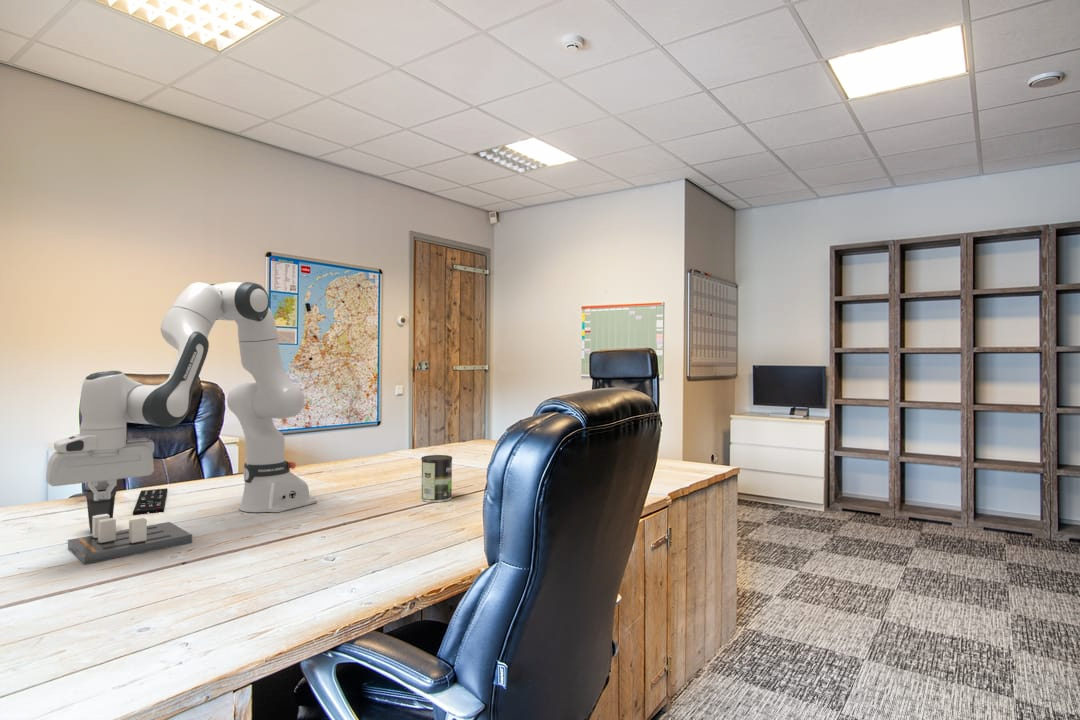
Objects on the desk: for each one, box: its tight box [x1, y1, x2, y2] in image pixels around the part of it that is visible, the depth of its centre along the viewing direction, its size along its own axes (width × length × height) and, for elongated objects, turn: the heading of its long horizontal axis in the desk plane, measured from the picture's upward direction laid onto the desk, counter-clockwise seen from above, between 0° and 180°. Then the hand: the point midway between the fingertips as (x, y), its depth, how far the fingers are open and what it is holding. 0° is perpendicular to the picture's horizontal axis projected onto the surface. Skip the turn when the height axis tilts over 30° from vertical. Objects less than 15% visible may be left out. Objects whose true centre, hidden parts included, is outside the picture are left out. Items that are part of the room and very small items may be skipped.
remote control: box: [132, 488, 168, 516], centre depth 190 cm, size 8×32×2 cm, turn 30°
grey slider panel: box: [67, 521, 193, 565], centre depth 147 cm, size 22×17×2 cm
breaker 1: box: [91, 514, 110, 538], centre depth 147 cm, size 3×2×5 cm
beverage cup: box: [83, 480, 119, 534], centre depth 158 cm, size 7×7×20 cm
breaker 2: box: [98, 517, 117, 543], centre depth 143 cm, size 3×2×5 cm
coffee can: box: [420, 454, 453, 503], centre depth 199 cm, size 10×10×14 cm
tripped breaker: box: [128, 517, 148, 543], centre depth 143 cm, size 3×2×5 cm
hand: (102, 499), depth 138 cm, fingers closed
